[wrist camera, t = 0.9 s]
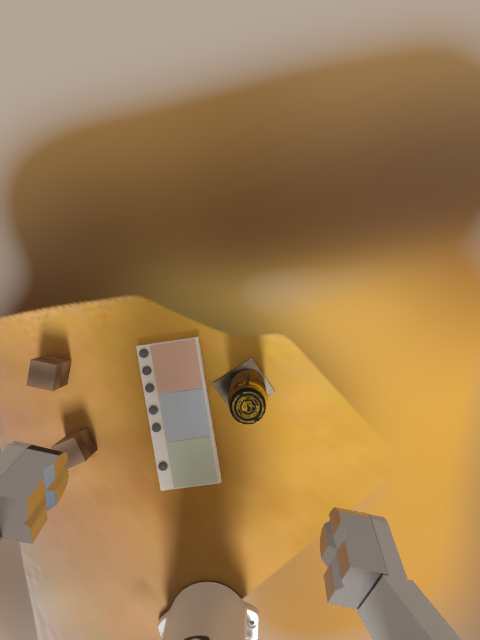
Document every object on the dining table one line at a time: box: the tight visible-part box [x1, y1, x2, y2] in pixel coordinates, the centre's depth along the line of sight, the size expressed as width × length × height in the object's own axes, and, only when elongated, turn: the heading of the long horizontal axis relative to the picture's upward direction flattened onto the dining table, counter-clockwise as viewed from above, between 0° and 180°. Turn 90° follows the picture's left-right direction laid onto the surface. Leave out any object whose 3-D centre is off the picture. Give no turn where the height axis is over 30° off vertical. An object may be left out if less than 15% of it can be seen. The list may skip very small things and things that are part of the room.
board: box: [136, 336, 222, 491], centre depth 58 cm, size 26×11×2 cm, turn 9°
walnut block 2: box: [51, 427, 97, 469], centre depth 57 cm, size 4×4×4 cm
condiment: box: [213, 358, 275, 424], centre depth 52 cm, size 7×8×12 cm
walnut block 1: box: [27, 355, 71, 391], centre depth 57 cm, size 4×4×4 cm
